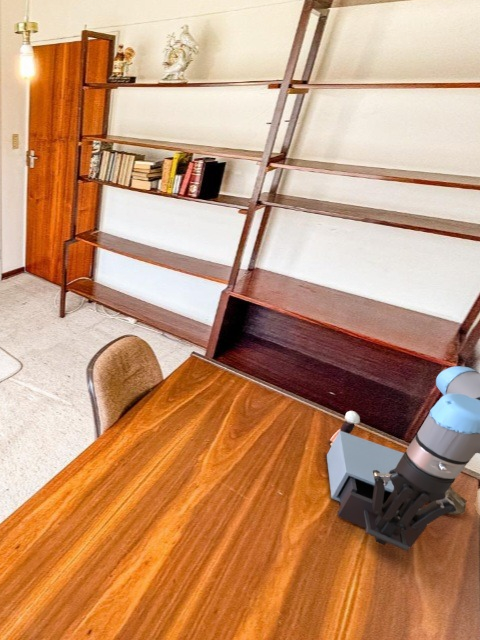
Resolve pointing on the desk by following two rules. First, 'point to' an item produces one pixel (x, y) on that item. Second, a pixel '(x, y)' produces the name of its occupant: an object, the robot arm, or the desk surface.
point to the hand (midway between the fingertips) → (379, 538)
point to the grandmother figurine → (347, 424)
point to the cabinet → (358, 461)
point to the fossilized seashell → (456, 501)
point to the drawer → (370, 512)
